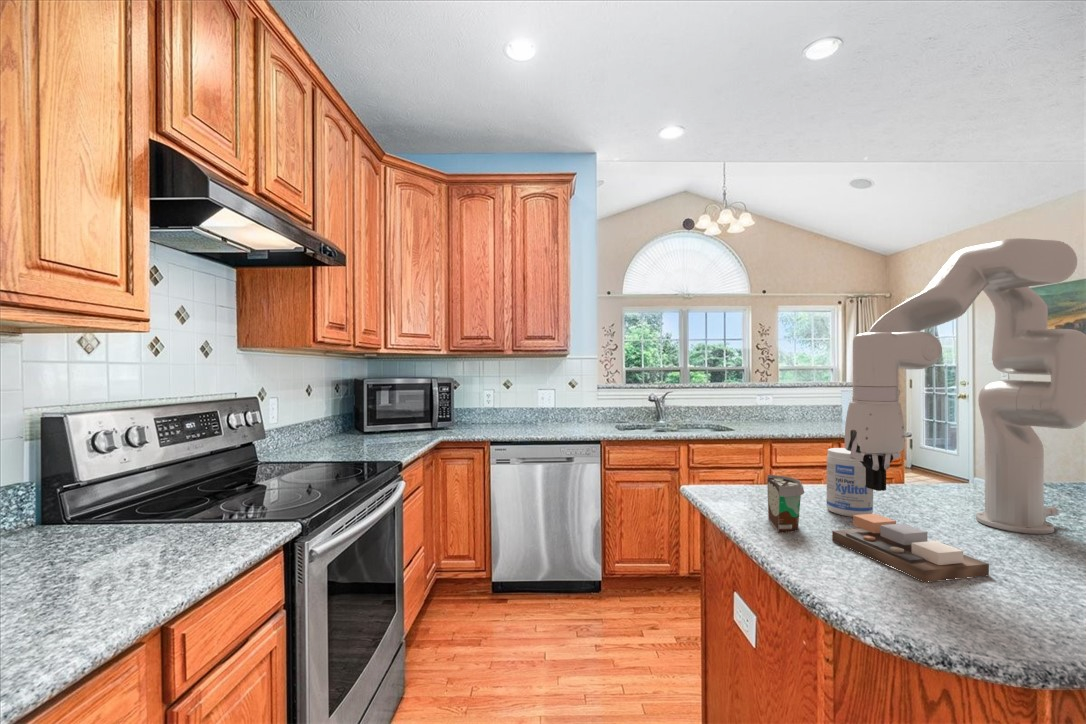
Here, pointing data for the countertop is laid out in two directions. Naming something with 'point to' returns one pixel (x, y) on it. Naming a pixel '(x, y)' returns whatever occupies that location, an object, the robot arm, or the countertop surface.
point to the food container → (784, 502)
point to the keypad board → (907, 557)
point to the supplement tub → (847, 485)
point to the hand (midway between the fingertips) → (875, 488)
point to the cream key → (937, 552)
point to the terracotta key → (871, 522)
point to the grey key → (903, 533)
